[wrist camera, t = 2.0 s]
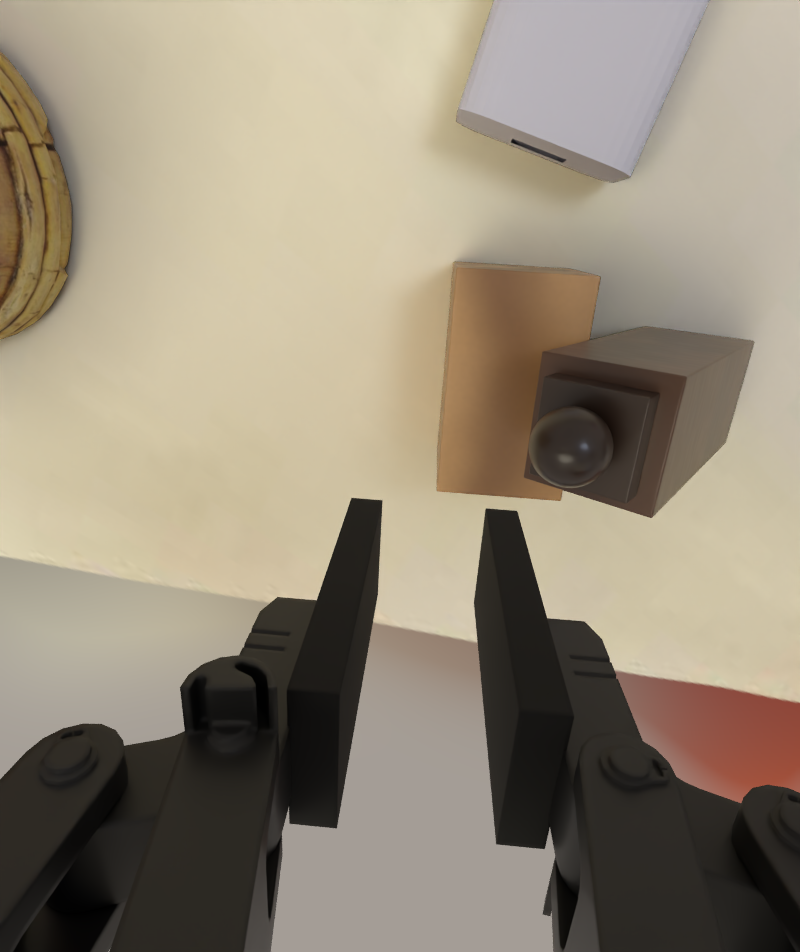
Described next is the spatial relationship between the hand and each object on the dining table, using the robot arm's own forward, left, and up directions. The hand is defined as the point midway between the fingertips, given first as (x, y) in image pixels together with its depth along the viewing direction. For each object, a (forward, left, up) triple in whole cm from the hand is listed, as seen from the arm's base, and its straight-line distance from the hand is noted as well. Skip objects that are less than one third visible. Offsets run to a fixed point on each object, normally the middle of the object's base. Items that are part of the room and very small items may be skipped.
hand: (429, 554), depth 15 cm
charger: (-7, -19, -25) cm, 32 cm away
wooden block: (-4, 0, -25) cm, 25 cm away
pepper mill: (-11, 0, -24) cm, 27 cm away
